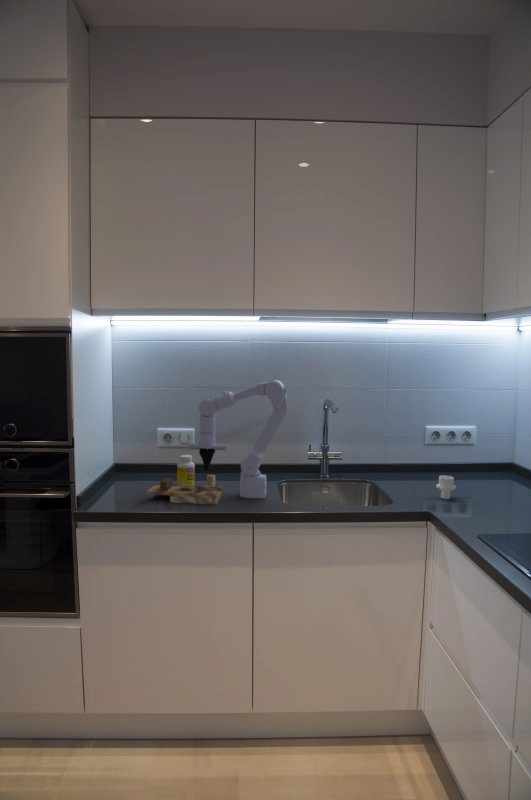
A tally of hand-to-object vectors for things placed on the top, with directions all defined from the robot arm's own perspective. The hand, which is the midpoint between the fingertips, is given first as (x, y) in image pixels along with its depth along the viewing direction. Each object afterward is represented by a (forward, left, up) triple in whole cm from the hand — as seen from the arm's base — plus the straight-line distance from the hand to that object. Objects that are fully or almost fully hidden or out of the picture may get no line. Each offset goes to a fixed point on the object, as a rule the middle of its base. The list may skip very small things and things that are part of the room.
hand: (207, 469), depth 199 cm
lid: (+11, +8, -7) cm, 15 cm away
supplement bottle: (+10, -9, -10) cm, 17 cm away
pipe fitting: (-88, -13, -10) cm, 90 cm away
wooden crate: (+2, +8, -10) cm, 13 cm away
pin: (-1, -3, -10) cm, 10 cm away
